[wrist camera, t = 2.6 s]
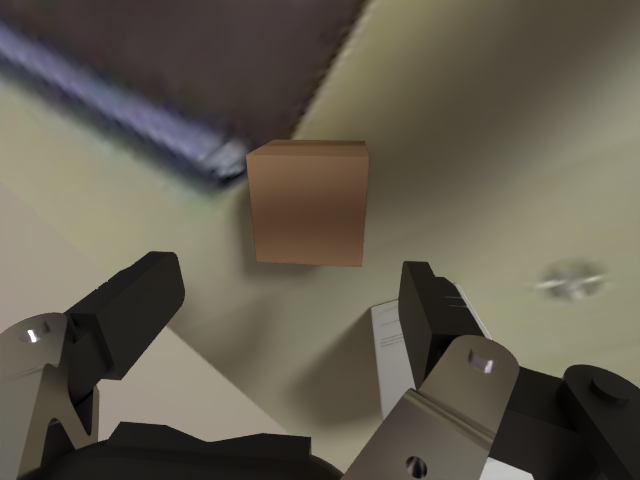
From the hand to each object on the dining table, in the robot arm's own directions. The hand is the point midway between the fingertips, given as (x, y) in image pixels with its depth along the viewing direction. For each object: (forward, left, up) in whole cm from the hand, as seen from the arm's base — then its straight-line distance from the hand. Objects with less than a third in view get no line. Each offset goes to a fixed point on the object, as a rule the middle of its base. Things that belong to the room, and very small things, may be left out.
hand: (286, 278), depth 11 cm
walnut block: (0, 0, -12) cm, 12 cm away
